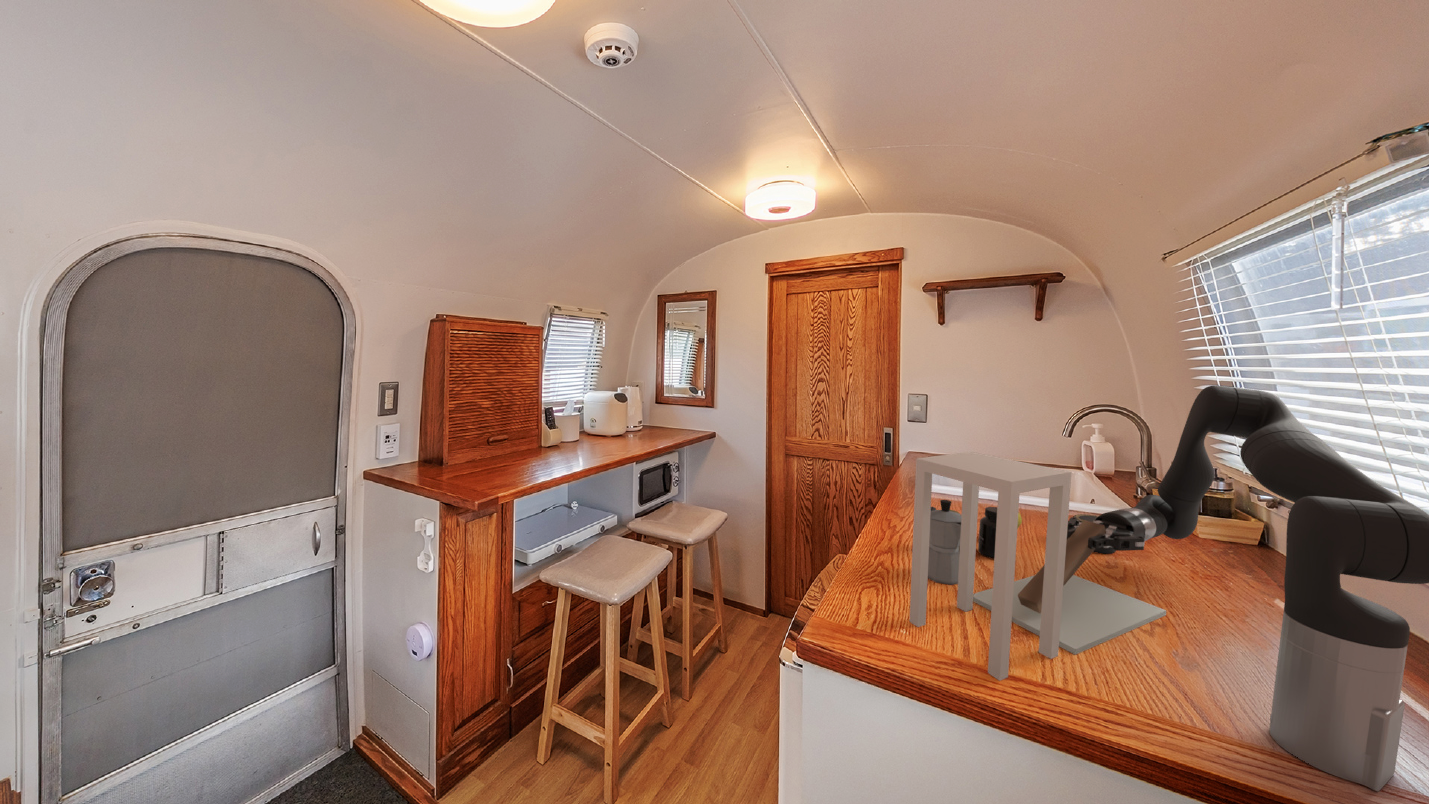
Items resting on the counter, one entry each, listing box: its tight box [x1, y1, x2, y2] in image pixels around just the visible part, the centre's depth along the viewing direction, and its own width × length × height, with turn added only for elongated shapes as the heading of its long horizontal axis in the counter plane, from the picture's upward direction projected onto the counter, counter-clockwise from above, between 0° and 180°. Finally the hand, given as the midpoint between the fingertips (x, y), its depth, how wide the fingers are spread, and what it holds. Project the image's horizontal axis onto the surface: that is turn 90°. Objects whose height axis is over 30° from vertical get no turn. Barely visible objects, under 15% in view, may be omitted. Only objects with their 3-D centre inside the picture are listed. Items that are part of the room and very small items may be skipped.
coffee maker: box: [928, 499, 962, 586], centre depth 108 cm, size 15×9×18 cm, turn 22°
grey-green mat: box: [973, 574, 1167, 656], centre depth 95 cm, size 20×30×1 cm, turn 114°
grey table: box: [909, 451, 1073, 682], centre depth 83 cm, size 18×15×32 cm
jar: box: [1072, 513, 1117, 555], centre depth 124 cm, size 10×10×8 cm
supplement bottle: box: [977, 506, 997, 560], centre depth 119 cm, size 7×7×12 cm
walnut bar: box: [1018, 520, 1106, 613], centre depth 93 cm, size 4×24×3 cm
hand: (1078, 540), depth 95 cm, fingers closed on walnut bar, 3 cm apart
